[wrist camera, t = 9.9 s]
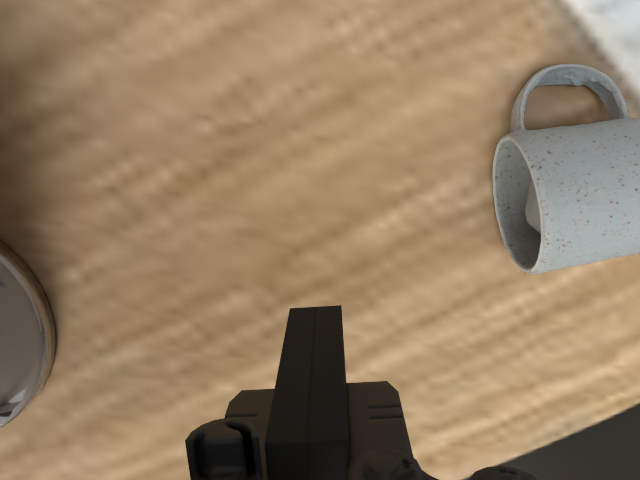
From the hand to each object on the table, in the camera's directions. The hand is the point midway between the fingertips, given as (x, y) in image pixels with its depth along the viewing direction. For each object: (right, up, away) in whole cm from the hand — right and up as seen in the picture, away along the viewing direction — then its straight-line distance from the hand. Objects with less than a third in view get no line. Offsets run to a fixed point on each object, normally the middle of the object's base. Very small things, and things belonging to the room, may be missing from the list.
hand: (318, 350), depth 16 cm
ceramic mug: (+14, +8, +17) cm, 23 cm away
